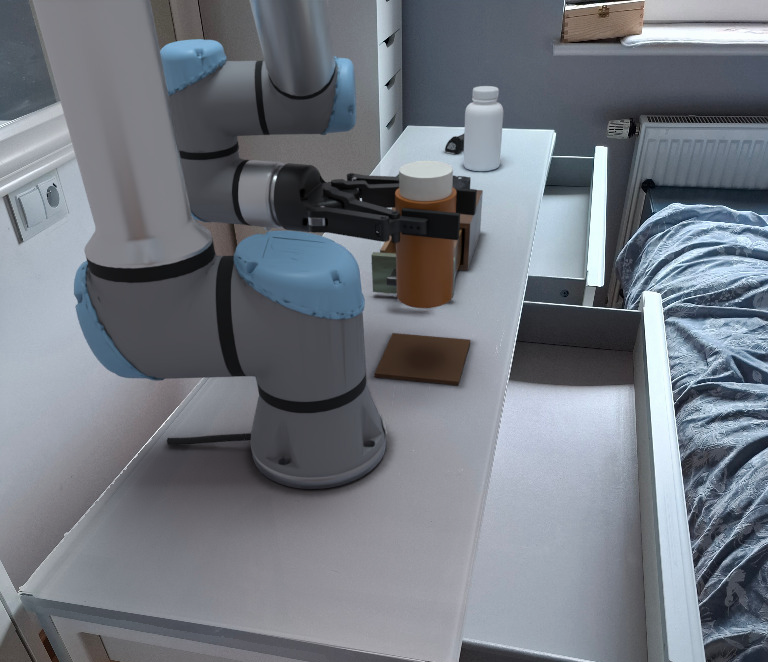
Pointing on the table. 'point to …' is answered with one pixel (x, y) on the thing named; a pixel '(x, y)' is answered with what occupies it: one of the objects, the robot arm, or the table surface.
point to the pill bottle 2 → (483, 130)
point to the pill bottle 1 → (425, 254)
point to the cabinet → (470, 232)
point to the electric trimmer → (455, 144)
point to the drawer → (386, 265)
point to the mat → (423, 359)
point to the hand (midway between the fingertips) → (467, 214)
